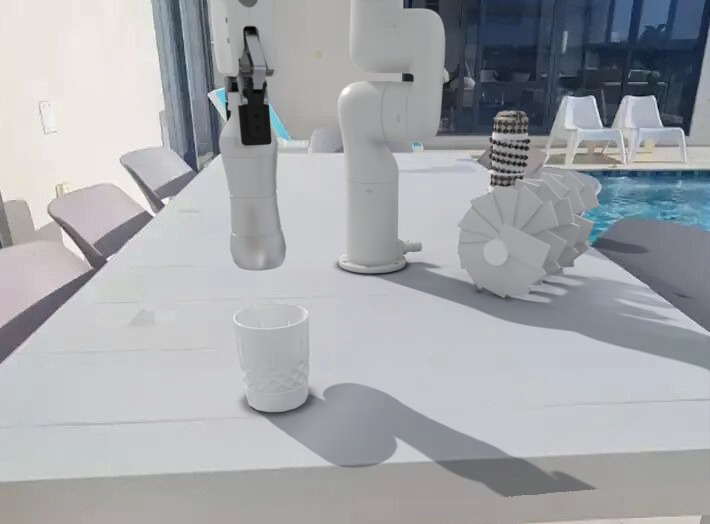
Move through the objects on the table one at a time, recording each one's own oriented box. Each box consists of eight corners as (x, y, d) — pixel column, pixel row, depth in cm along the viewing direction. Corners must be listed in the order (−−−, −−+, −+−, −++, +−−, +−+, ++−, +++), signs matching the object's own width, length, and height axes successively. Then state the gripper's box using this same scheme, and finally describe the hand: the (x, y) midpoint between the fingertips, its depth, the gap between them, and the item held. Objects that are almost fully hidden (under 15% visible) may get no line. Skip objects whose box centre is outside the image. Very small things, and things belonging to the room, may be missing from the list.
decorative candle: (513, 229, 146) (523, 113, 136) (477, 224, 151) (484, 111, 140) (528, 222, 153) (539, 111, 143) (493, 217, 158) (501, 109, 147)
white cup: (324, 388, 74) (321, 307, 69) (293, 421, 67) (287, 333, 63) (264, 378, 76) (257, 299, 72) (228, 408, 69) (218, 323, 65)
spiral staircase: (467, 318, 106) (529, 274, 124) (564, 293, 94) (617, 249, 112) (427, 213, 102) (496, 184, 120) (522, 174, 90) (584, 148, 109)
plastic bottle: (276, 278, 75) (262, 94, 66) (222, 274, 76) (202, 93, 67) (294, 263, 80) (284, 91, 72) (244, 259, 82) (228, 90, 73)
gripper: (293, -56, 59) (303, 148, 66) (251, -32, 73) (263, 133, 81) (210, -62, 56) (231, 151, 63) (183, -37, 70) (203, 135, 78)
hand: (249, 139), depth 72 cm, fingers closed on plastic bottle, 6 cm apart
